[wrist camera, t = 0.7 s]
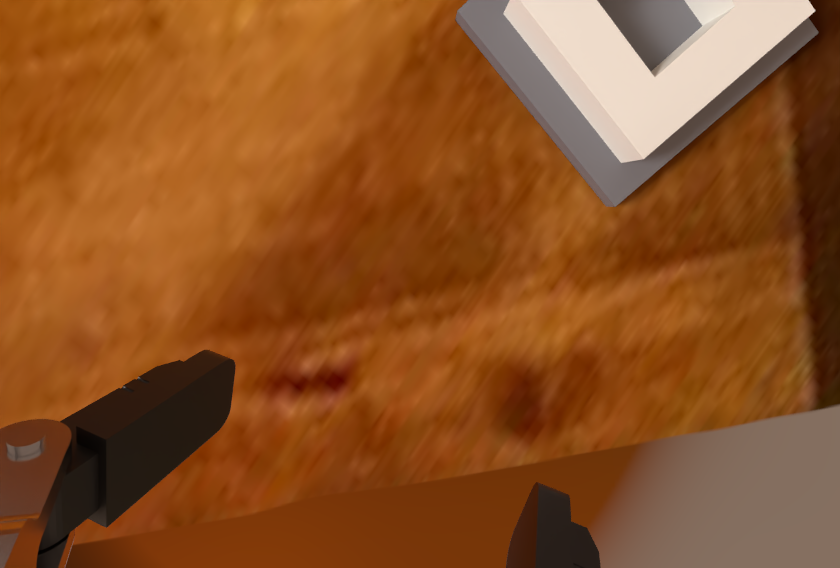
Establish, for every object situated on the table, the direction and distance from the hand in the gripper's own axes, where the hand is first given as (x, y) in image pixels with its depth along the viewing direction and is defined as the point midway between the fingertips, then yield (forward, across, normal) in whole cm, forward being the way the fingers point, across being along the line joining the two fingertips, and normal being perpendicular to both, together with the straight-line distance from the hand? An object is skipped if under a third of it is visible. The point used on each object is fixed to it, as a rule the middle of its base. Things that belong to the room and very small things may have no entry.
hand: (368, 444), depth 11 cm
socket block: (+27, -4, -16) cm, 31 cm away
